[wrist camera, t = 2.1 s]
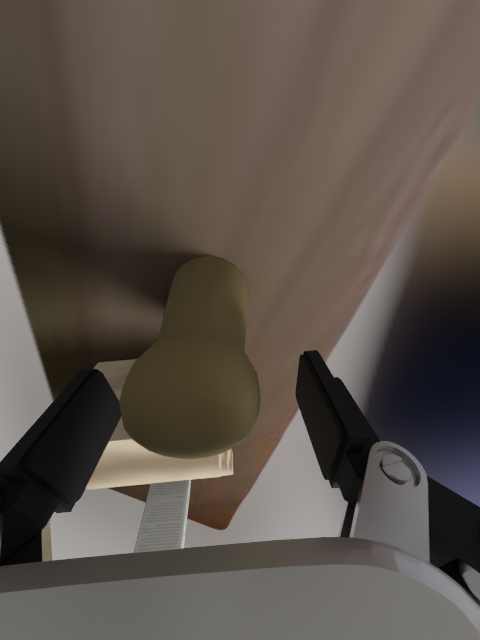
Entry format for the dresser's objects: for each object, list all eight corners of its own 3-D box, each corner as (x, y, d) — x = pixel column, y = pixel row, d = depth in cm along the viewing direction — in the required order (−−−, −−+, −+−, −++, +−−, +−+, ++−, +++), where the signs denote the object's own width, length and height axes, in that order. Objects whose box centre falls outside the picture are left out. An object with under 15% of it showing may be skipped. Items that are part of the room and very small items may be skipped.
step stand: (98, 362, 19) (33, 448, 12) (214, 352, 19) (208, 431, 13) (160, 461, 30) (143, 532, 24) (232, 454, 30) (234, 523, 24)
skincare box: (156, 482, 34) (127, 603, 24) (153, 472, 32) (119, 600, 22) (192, 481, 35) (178, 598, 25) (191, 471, 33) (176, 595, 23)
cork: (189, 333, 18) (149, 489, 8) (156, 269, 14) (31, 408, 5) (255, 316, 17) (291, 463, 8) (236, 245, 14) (258, 353, 5)
